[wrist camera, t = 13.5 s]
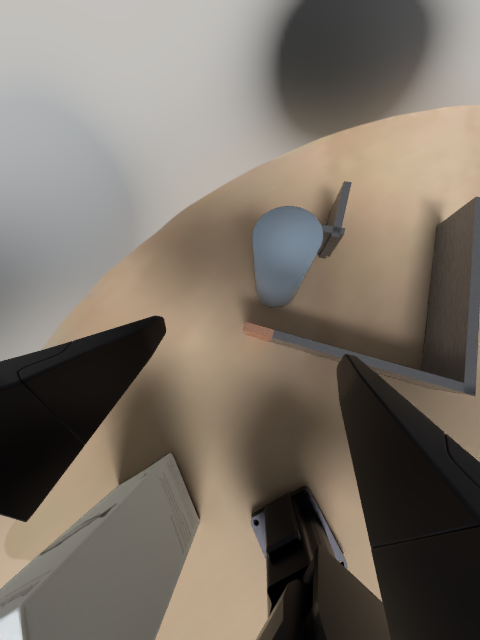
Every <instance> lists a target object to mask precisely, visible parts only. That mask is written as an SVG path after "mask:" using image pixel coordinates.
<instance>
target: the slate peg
mask: <svg viewBox="0 0 480 640" xmlns="http://www.w3.org/2000/svg"><path fill="white" fill-rule="evenodd" d="M252 240H253V254H254V268H255V282H256V293H257V296H258V298H259V300H260V301H261V302H262V303H263V304H265V305H266V306H269V307H273V308H279V307H283V306H285V305H287V304H288V303H290V302H291V301H292V299H293V298H294V296H295V294H296V292H297V290H298V288H299V286H300V284H301V282H302V281H303V279H304V277H305V275H306V273H307V271H308V269H309V267H310V265H311V263H312V262H313V260H314V258H315V256H316V254H317V252H318V250H319V248H320V246H321V244H322V240H323V230H322V226H321V224H320V222H319V221H318V219H317V218H316V217H315V216H314V215H313V214H312V213H310V212H309V211H307V210H305V209H302V208H299V207H294V206H284V207H279V208H275V209H273V210H271V211H269V212H267V213H266V214H264V215H263V216H262V217H261V218H260V219H259V220H258V222H257V223H256V225H255V227H254V230H253V235H252Z"/></svg>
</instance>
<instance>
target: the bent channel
mask: <svg viewBox="0 0 480 640" xmlns="http://www.w3.org/2000/svg"><path fill="white" fill-rule="evenodd" d="M350 187H351V182H345V181H344V183H343V185H342V187H341V189H340V191H339V193H338V196H337V198H336V200H335V202H334V204H333V206H332V208H331V211H330V215H329V219H328V223H327V225H321V226H322V230H323V240H322V244H321V246H320V248H319V250H318V252H317V254H319V255H320V256H319V257H320V258H326V257H327V256H330V255H331V253H332V252H333V250H334V249H335V247H336V246H337V244H338V243H339V241H340V240H341V238H342V237H343V235H344V231H345V228H341V227H342V222H343V218H344V213H345V209H346V204H347V200H348V196H349V191H350ZM479 311H480V197H475V198H474V199H472V200H471V201H470V202H468V203H467V204H466V205H464V206H463V207H462V208H460V209H459V210H458V211H456V212H455V213H454V214H452V215H451V216H450V217H448V218H447V219H446V220H444V221H443V222H442V223H441V224H439V225H438V226H437V231H436V240H435V249H434V258H433V268H432V277H431V286H430V295H429V305H428V314H427V323H426V332H425V341H424V351H423V360H422V369H421V371H420V370H416V369H413V368H409V367H405V366H402V365H398V364H395V363H391V362H388V361H384V360H380V359H377V358H373V357H370V356H366V355H363V354H359V353H355V352H352V351H348V350H345V349H341V348H338V347H334V346H330V345H327V344H323V343H320V342H316V341H313V340H309V339H305V338H302V337H298V336H295V335H291V334H288V333H284V332H280V331H277V330H273V329H270V328H266V327H263V326H259V325H255V324H252V323H248V322H245V324H244V328H243V330H244V332H245V333H246V335H250V336H253V337H256V338H260V339H263V340H267V341H270V342H273V343H277V344H280V345H284V346H287V347H290V348H294V349H297V350H301V351H304V352H307V353H311V354H314V355H318V356H321V357H325V358H328V359H331V360H335V361H338V362H340V361H341V359H342V357H343V356H344V355H345V354H350V355H355V356H357V357H358V358H359V359H360V360H361V361H362V362H364V363H365V364H366V365H367V366H368V367H369V368H370V369H372V370H373V371H374V372H376V373H379V374H382V375H386V376H389V377H393V378H396V379H399V380H403V381H406V382H410V383H413V384H417V385H420V386H423V387H427V388H431V389H437V390H443V391H449V392H454V393H460V394H466V395H472V396H475V390H476V370H477V351H478V331H479Z"/></svg>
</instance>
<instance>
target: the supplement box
mask: <svg viewBox="0 0 480 640" xmlns="http://www.w3.org/2000/svg"><path fill="white" fill-rule="evenodd" d="M199 524H200V521H199V518H198V516H197V513H196V510H195V508H194V506H193V503H192V501H191V498H190V496H189V493H188V491H187V488H186V486H185V483H184V481H183V478H182V476H181V474H180V471H179V469H178V466H177V464H176V461H175V459H174V457H173V455H172V453H169V454H167V455H166V456H165V457H163V458H162V459H160V460H159V461H157V462H156V463H154V464H153V465H151V466H150V467H148V468H147V469H145V470H144V471H142V472H140V473H139V474H137V475H136V476H134V477H132V478H131V479H129V480H127V481H126V482H124V483H122V484H120V485H119V486H117V487H116V488H115V489H113V490H112V491H111V492H110V493H109V494H108V495H107V496H106V497H104V498H103V499H102V500H101V501H100V502H99V503H98V504H96V505H95V506H94V507H93V508H92V509H91V510H89V511H88V512H87V513H86V514H85V515H84V516H83V517H81V518H80V519H79V520H78V521H77V522H76V523H75V524H73V525H72V526H71V527H70V528H69V529H68V530H67V531H65V532H64V533H63V534H62V535H61V536H60V537H59V538H57V539H56V540H55V541H54V542H53V543H52V544H51V545H49V546H48V547H47V548H46V549H45V550H44V551H43V552H41V553H40V554H39V555H38V556H37V557H36V558H35V559H33V560H32V561H31V562H30V563H29V564H28V565H27V566H26V567H25V568H23V569H22V570H21V571H20V572H19V573H18V574H17V575H15V576H14V577H13V578H12V579H11V580H10V581H9V582H8V583H7V584H6V585H4V586H3V587H2V588H1V589H0V640H155V638H156V636H157V633H158V631H159V628H160V625H161V623H162V620H163V618H164V615H165V612H166V610H167V607H168V605H169V602H170V599H171V597H172V594H173V591H174V589H175V586H176V583H177V581H178V578H179V576H180V573H181V570H182V568H183V565H184V562H185V560H186V557H187V555H188V552H189V549H190V547H191V544H192V542H193V539H194V536H195V534H196V531H197V528H198V526H199Z"/></svg>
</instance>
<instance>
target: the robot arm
mask: <svg viewBox="0 0 480 640" xmlns="http://www.w3.org/2000/svg"><path fill="white" fill-rule="evenodd" d="M165 333H166V326H165V321H164V318H163V317H160V316H152V317H149V318H146V319H142V320H139V321H136V322H133V323H129V324H126V325H123V326H120V327H116V328H113V329H110V330H107V331H103V332H100V333H97V334H94V335H91V336H87V337H84V338H81V339H78V340H74V341H71V342H68V343H65V344H61V345H58V346H55V347H51V348H48V349H44V350H41V351H37V352H34V353H30V354H27V355H23V356H19V357H15V358H12V359H8V360H4V361H1V362H0V515H3V516H6V517H10V518H13V519H16V520H20V521H23V522H27V521H28V519H29V518H30V517H31V516H32V515H33V514H34V512H35V511H36V510H37V508H38V507H39V506H40V504H41V503H42V502H43V500H44V499H45V498H46V496H47V495H48V494H49V492H50V491H51V490H52V488H53V487H54V486H55V484H56V483H57V482H58V480H59V479H60V478H61V476H62V475H63V474H64V472H65V471H66V470H67V468H68V467H69V466H70V464H71V463H72V462H73V460H74V459H75V458H76V456H77V455H78V454H79V452H80V451H81V450H82V449H83V447H84V446H85V444H86V443H87V442H88V440H89V439H90V438H91V436H92V435H93V434H94V432H95V431H96V430H97V428H98V427H99V426H100V424H101V423H102V422H103V420H104V419H105V418H106V416H107V415H108V414H109V412H110V411H111V410H112V409H113V407H114V406H115V405H116V403H117V402H118V401H119V399H120V398H121V397H122V395H123V394H124V393H125V391H126V390H127V389H128V387H129V386H130V385H131V383H132V382H133V381H134V379H135V378H136V377H137V375H138V374H139V373H140V371H141V370H142V369H143V367H144V366H145V365H146V363H147V362H148V361H149V359H150V358H151V357H152V355H153V353H154V352H155V350H156V348H157V347H158V345H159V344H160V342H161V340H162V339H163V337H164V335H165ZM337 380H338V391H339V400H340V406H341V411H342V416H343V421H344V425H345V430H346V434H347V439H348V444H349V448H350V453H351V458H352V462H353V467H354V471H355V476H356V481H357V485H358V490H359V495H360V499H361V504H362V509H363V513H364V518H365V522H366V527H367V532H368V536H369V541H370V546H371V551H372V556H373V560H374V565H375V570H376V574H377V579H378V583H379V588H380V593H381V597H382V602H381V601H380V600H379V599H378V598H377V597H376V596H375V595H374V594H373V593H372V592H371V591H370V590H369V589H368V588H366V587H365V586H364V585H363V584H362V583H361V582H360V581H359V580H358V579H357V578H356V577H355V576H354V575H353V574H351V573H350V572H349V571H348V570H347V562H346V560H345V558H344V555H343V553H342V552H341V550H340V548H339V546H338V544H337V542H336V540H335V538H334V536H333V534H332V532H331V530H330V528H329V526H328V524H327V522H326V520H325V518H324V516H323V514H322V513H321V511H320V509H319V507H318V505H317V503H316V501H315V499H314V497H313V495H312V493H311V491H310V489H309V488H308V487H306V486H303V487H301V488H299V489H297V490H296V491H294V492H292V493H290V494H285V495H284V496H282V497H280V498H278V499H276V500H274V501H273V502H271V503H269V504H267V505H266V506H265V507H264V508H263V509H261V510H259V511H257V512H255V513H254V514H252V517H251V524H252V527H253V529H254V532H255V534H256V537H257V539H258V541H259V544H260V546H261V549H262V551H263V553H264V556H265V558H266V566H267V601H268V620H267V621H266V623H265V625H264V627H263V628H262V630H261V632H260V634H259V635H258V637H257V639H256V640H480V462H479V461H478V460H476V459H475V458H474V457H473V456H472V455H470V454H469V453H468V452H467V451H466V450H464V449H463V448H462V447H461V446H460V445H459V444H457V443H456V442H455V441H454V440H453V439H452V438H451V437H449V436H448V435H447V434H445V433H444V431H442V430H441V429H440V428H439V427H438V426H437V425H435V424H434V423H433V422H432V421H431V420H430V419H428V418H427V417H426V416H425V415H424V414H423V413H422V412H420V411H419V410H418V409H417V408H416V407H415V406H413V405H412V404H411V403H410V402H409V401H408V400H406V399H405V398H404V397H403V396H402V395H401V394H399V393H398V392H397V391H396V390H395V389H394V388H393V387H391V386H390V385H389V384H388V383H387V382H386V381H384V380H383V379H382V378H381V377H380V376H379V375H377V374H376V373H375V372H374V371H373V370H372V369H370V368H369V367H368V366H367V365H366V364H365V363H364V362H362V361H361V360H360V359H359V358H358V357H357V356H355V355H350V354H345V355H344V356H343V357H342V359H341V361H340V362H339V364H338V366H337ZM305 492H307V493H308V495H304V493H305ZM255 519H257V520H258V522H255V521H254V520H255ZM339 561H342V562H341V563H340V562H339Z"/></svg>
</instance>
